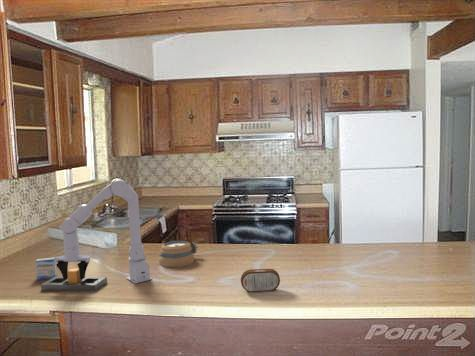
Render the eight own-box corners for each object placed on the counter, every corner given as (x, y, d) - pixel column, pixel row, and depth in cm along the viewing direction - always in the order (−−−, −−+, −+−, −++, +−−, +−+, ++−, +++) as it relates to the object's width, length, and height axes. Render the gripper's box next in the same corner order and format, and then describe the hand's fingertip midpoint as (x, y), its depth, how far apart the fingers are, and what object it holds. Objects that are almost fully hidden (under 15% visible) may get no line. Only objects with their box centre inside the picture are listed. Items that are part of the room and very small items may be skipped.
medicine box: (36, 280, 182) (35, 261, 182) (38, 277, 187) (37, 258, 186) (55, 277, 185) (54, 259, 184) (57, 274, 189) (55, 256, 188)
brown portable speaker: (279, 288, 159) (279, 267, 158) (280, 291, 156) (280, 269, 155) (241, 290, 158) (240, 269, 158) (241, 293, 155) (240, 272, 155)
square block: (82, 284, 174) (81, 268, 173) (77, 287, 170) (76, 271, 169) (73, 284, 175) (72, 268, 174) (68, 287, 171) (67, 271, 170)
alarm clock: (151, 247, 195) (174, 236, 217) (152, 266, 196) (175, 253, 217) (183, 249, 189) (203, 237, 211) (184, 268, 190) (204, 254, 212)
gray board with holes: (107, 282, 175) (106, 276, 174) (95, 291, 165) (95, 285, 165) (55, 282, 179) (55, 276, 178) (41, 290, 169) (40, 284, 168)
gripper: (92, 244, 173) (95, 275, 174) (61, 244, 175) (63, 275, 176) (83, 248, 166) (86, 281, 167) (51, 248, 168) (53, 280, 170)
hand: (74, 278), depth 171 cm, fingers open, 7 cm apart
